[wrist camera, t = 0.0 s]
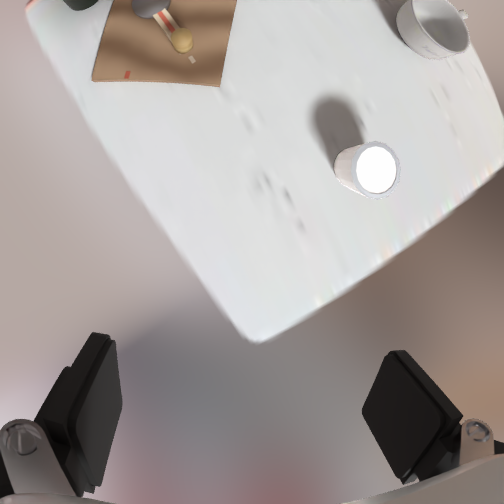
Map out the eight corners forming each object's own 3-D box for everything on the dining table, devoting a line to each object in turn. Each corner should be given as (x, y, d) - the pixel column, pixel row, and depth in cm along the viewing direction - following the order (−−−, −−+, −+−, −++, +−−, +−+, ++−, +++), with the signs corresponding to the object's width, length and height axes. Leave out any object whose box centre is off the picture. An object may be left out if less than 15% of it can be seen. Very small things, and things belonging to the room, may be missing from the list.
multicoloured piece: (128, 3, 28) (120, -10, 24) (160, -15, 28) (156, -29, 24) (171, 65, 32) (166, 55, 28) (206, 45, 31) (205, 33, 28)
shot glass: (342, 201, 40) (365, 209, 34) (321, 155, 38) (341, 154, 32) (381, 180, 40) (408, 185, 33) (362, 135, 38) (388, 132, 31)
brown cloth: (130, -35, 26) (128, -38, 25) (244, -32, 29) (245, -36, 28) (94, 81, 32) (91, 80, 31) (219, 87, 34) (219, 85, 33)
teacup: (405, 67, 36) (437, 56, 28) (375, 7, 32) (401, -13, 25) (459, 59, 35) (489, 50, 28) (433, 5, 32) (460, -9, 24)
